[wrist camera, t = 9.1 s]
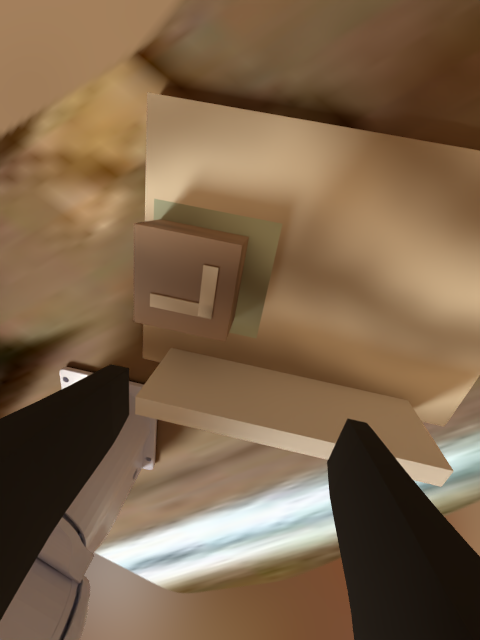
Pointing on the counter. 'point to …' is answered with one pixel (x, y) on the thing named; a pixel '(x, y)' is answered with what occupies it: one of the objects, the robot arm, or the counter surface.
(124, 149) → the counter surface
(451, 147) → the birch board
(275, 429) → the beige rectangular slab
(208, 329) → the walnut block
